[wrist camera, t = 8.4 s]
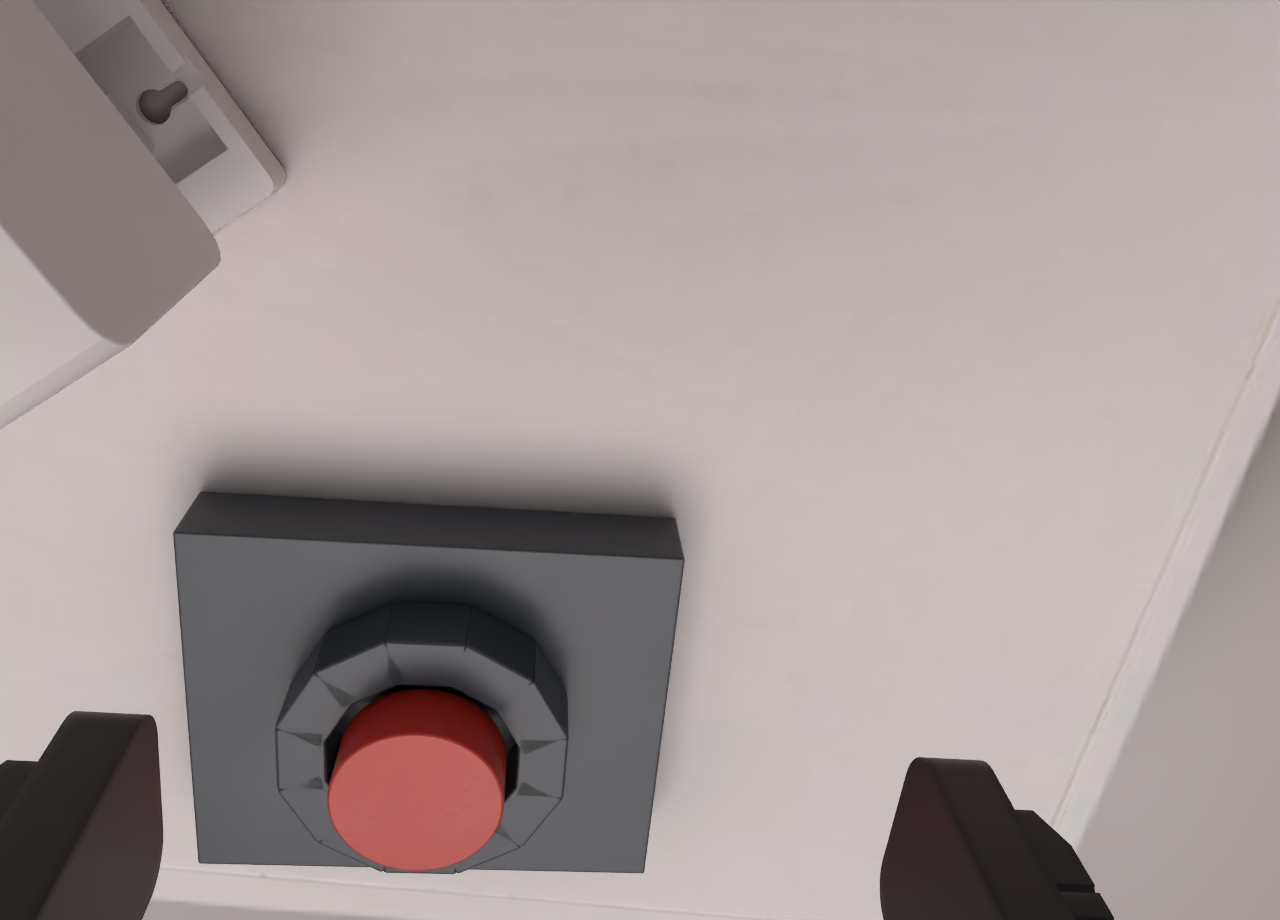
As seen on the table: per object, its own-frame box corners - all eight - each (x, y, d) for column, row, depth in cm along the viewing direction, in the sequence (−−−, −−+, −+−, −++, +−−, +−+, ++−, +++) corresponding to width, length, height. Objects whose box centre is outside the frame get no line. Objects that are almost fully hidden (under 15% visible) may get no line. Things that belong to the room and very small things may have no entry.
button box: (676, 517, 29) (693, 597, 25) (638, 818, 33) (649, 924, 29) (199, 491, 28) (146, 570, 24) (220, 807, 32) (177, 916, 28)
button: (510, 690, 27) (508, 736, 25) (503, 822, 28) (499, 874, 27) (338, 684, 26) (325, 731, 25) (340, 818, 28) (327, 870, 26)
